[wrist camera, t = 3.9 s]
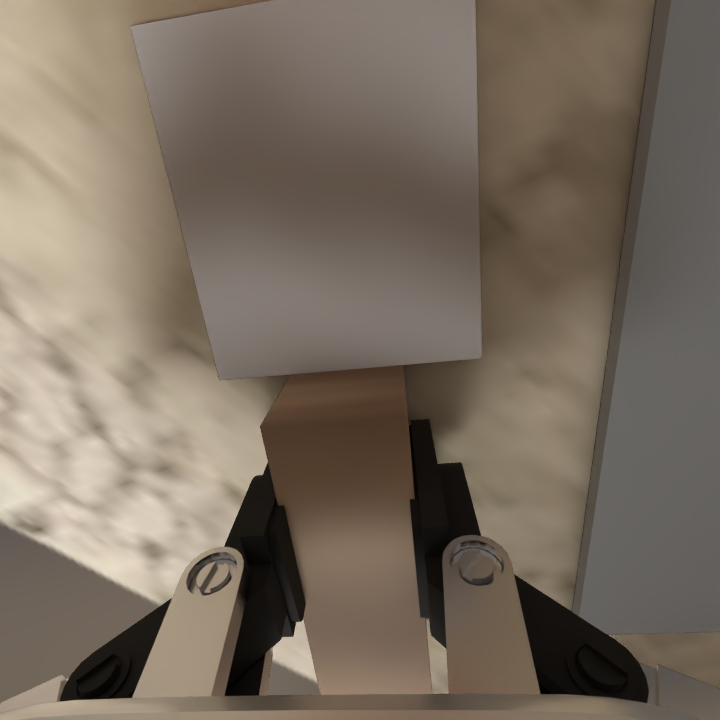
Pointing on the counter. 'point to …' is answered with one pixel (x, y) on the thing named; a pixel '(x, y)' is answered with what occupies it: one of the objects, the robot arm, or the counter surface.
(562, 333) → the counter surface
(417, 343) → the turner
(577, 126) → the counter surface
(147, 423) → the counter surface
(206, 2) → the counter surface
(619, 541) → the mat
